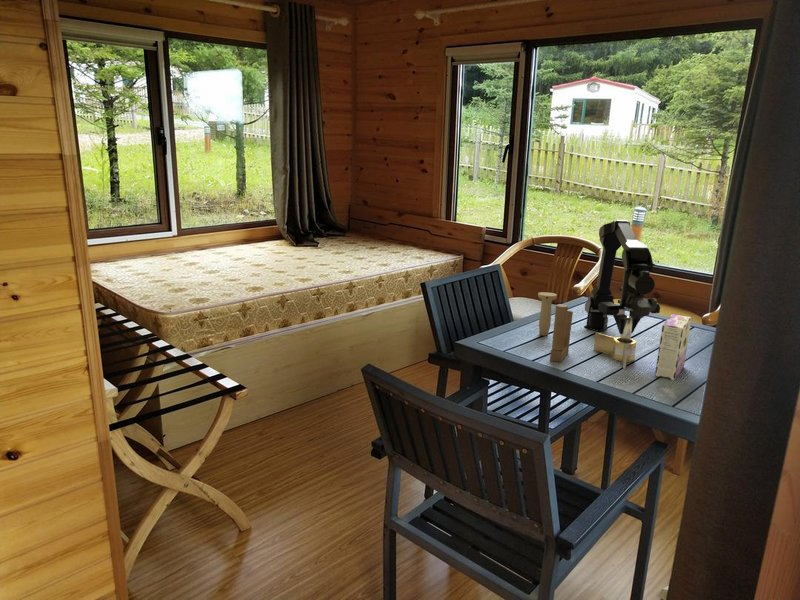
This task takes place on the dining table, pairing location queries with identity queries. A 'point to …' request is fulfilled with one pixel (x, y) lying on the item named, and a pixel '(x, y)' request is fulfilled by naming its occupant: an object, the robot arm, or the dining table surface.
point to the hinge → (615, 347)
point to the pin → (627, 330)
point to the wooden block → (561, 333)
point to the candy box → (673, 346)
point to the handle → (545, 312)
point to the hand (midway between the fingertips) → (625, 333)
